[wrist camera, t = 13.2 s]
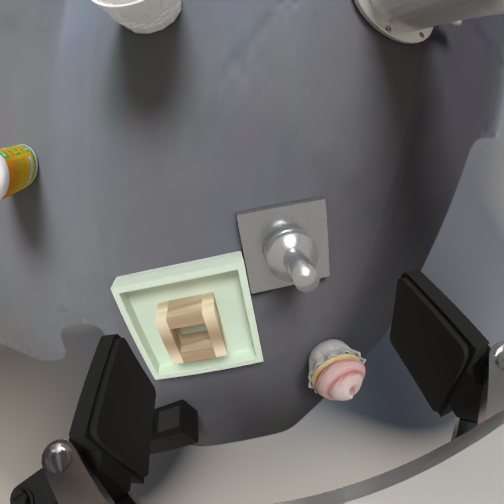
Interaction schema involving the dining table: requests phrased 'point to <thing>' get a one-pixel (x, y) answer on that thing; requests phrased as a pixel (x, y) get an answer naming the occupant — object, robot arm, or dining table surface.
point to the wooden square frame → (188, 314)
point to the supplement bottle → (16, 169)
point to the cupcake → (335, 370)
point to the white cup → (142, 13)
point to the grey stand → (285, 244)
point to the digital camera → (173, 427)
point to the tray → (231, 314)
